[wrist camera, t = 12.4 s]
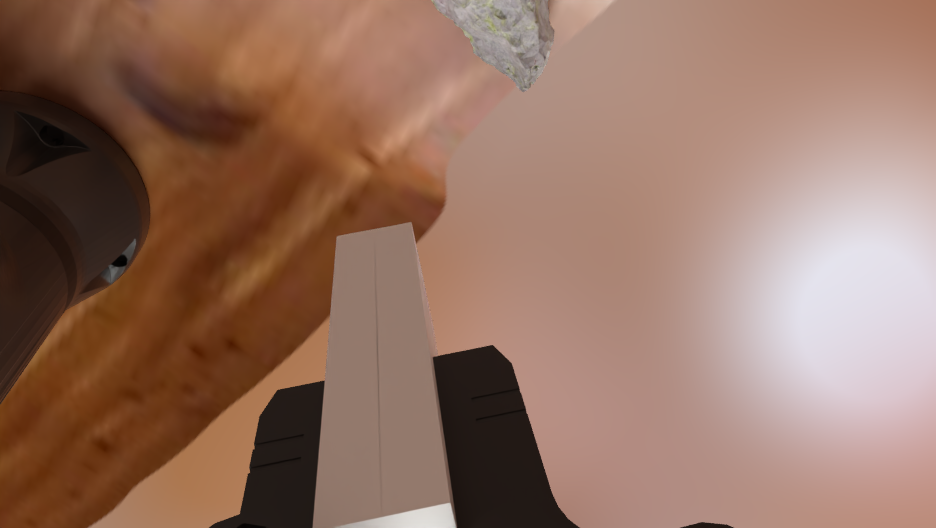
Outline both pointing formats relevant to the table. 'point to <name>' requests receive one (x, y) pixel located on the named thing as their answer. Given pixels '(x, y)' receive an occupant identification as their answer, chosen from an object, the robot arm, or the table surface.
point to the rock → (505, 34)
